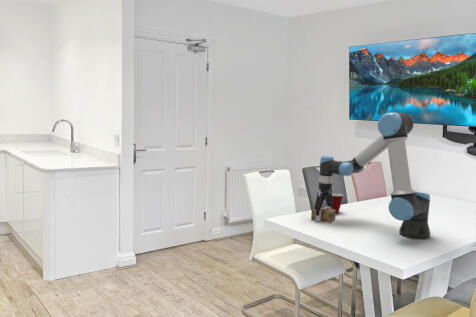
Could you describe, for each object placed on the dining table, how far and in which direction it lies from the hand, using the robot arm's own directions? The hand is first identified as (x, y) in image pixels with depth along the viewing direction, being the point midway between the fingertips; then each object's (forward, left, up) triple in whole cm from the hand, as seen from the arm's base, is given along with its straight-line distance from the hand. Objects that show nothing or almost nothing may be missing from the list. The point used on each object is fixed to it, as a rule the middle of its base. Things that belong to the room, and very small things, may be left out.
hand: (323, 219), depth 260 cm
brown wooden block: (0, 0, 0) cm, 0 cm away
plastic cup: (+3, -20, 0) cm, 20 cm away
